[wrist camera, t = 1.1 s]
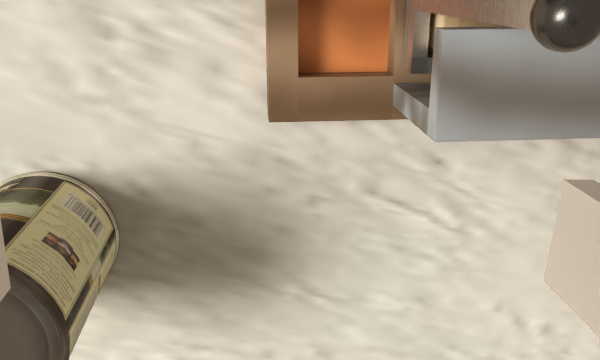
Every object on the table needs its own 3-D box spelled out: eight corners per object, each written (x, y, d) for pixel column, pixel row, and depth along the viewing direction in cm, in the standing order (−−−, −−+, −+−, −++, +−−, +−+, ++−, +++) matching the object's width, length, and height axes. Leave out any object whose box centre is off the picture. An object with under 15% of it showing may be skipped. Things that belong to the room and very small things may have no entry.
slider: (400, -78, 35) (573, -143, 17) (551, -77, 36) (878, -138, 17) (392, 69, 38) (532, 155, 20) (532, 67, 39) (794, 147, 20)
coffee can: (-40, 267, 43) (-167, 395, 30) (2, 148, 41) (-116, 230, 27) (93, 314, 46) (30, 452, 32) (141, 204, 43) (94, 305, 30)
